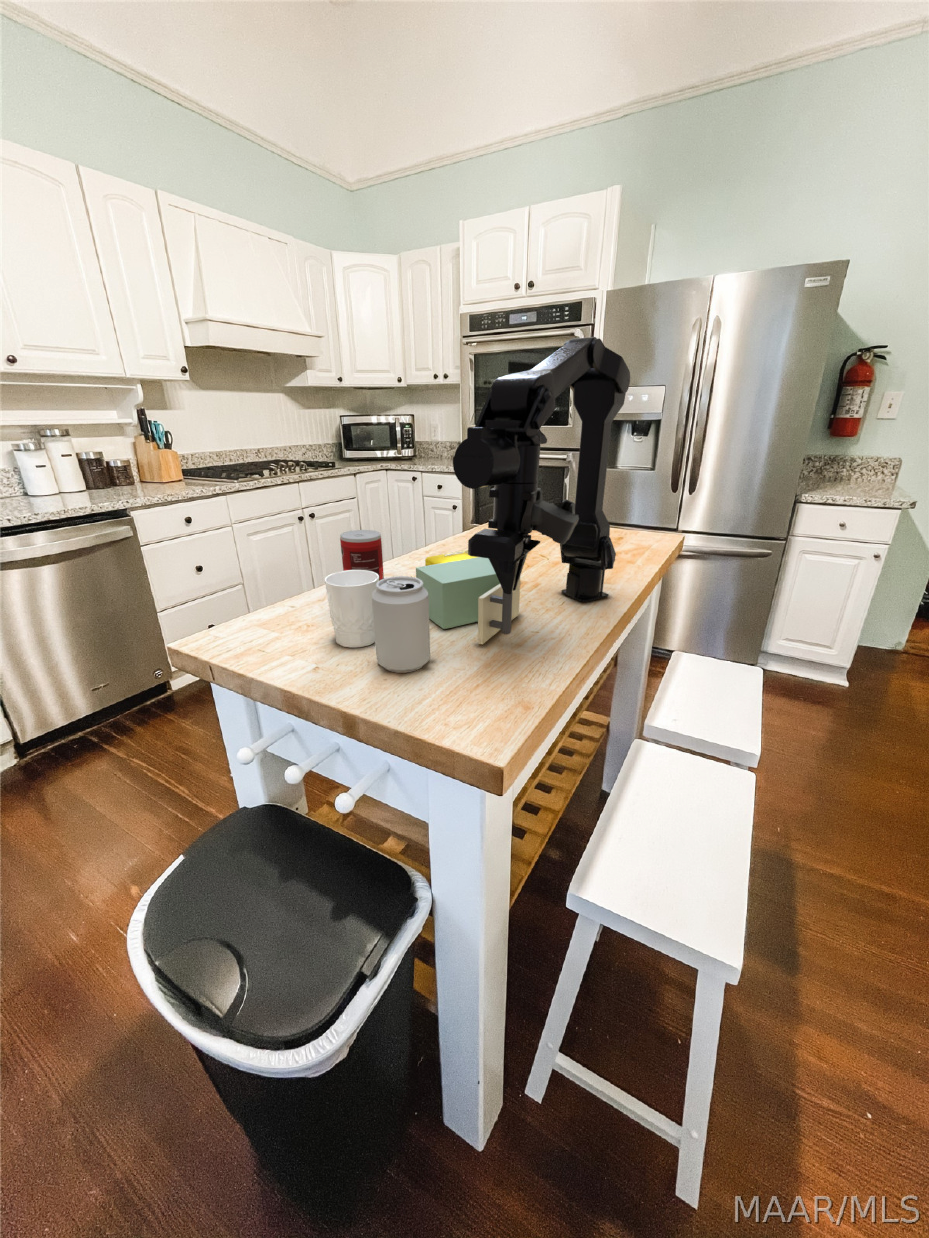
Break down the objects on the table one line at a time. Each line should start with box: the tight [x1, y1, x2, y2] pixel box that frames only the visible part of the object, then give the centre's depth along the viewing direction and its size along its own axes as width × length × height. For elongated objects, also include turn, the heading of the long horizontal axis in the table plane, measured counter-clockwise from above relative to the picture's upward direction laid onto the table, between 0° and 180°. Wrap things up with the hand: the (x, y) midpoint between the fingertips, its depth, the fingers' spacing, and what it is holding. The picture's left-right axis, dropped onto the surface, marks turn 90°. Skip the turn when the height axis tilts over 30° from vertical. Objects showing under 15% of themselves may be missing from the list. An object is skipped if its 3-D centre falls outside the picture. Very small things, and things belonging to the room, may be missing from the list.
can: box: [372, 575, 431, 674], centre depth 68 cm, size 8×8×12 cm
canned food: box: [339, 529, 385, 581], centre depth 97 cm, size 8×8×11 cm
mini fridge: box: [415, 557, 500, 630], centre depth 86 cm, size 14×10×8 cm
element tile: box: [424, 549, 477, 566], centre depth 103 cm, size 15×15×5 cm
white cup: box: [324, 570, 379, 649], centre depth 76 cm, size 8×8×10 cm
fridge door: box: [477, 577, 521, 645], centre depth 78 cm, size 14×4×12 cm, turn 151°
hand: (509, 591), depth 72 cm, fingers closed on fridge door
